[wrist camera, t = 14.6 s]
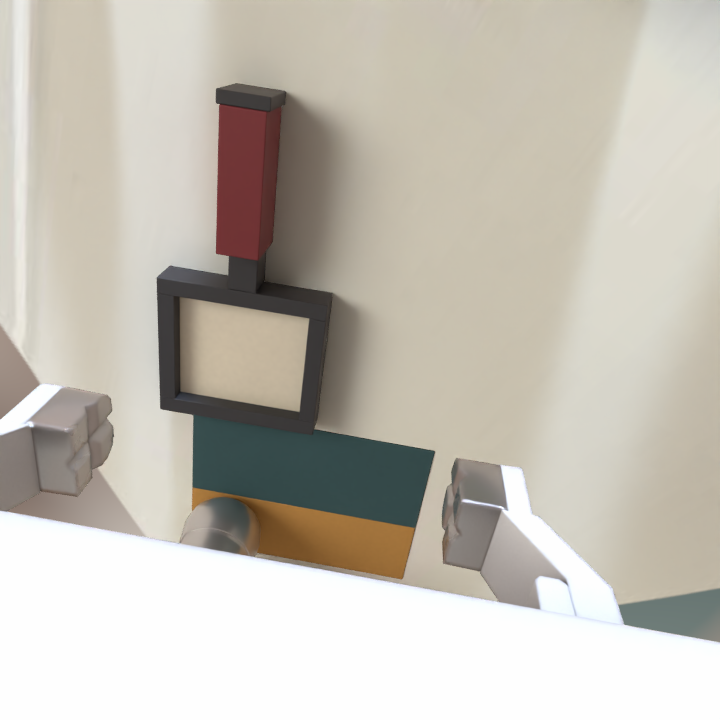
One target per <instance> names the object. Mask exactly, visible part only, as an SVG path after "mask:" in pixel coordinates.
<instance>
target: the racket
mask: <svg viewBox="0 0 720 720" xmlns="http://www.w3.org/2000/svg"><path fill="white" fill-rule="evenodd" d="M285 98H286V92H285V91H281V90H275V89H269V88H262V87H256V86H250V85H244V84H237V83H236V84H232V85H228V86H225V87H221V88H217V89H216V103H217V104H220V105H219V139H218V185H217V231H216V254H220V255H226V256H229V274H228V276H227V275H221V274H215V273H209V272H203V271H197V270H191V269H185V268H179V267H173V266H169V267H168V268H167V269H166V270H165V271H163V272H162V273H161V274H160V275H159V276H158V277H157V303H158V338H159V374H160V409H163V410H169V411H175V412H180V413H186V414H192V415H198V416H204V417H209V418H215V419H221V420H227V421H232V422H238V423H244V424H250V425H256V426H261V427H267V428H273V429H279V430H285V431H290V432H296V433H302V434H308V435H313V431H314V428H315V425H316V421H317V417H318V409H319V401H320V393H321V385H322V376H323V368H324V360H325V352H326V344H327V336H328V328H329V319H330V311H331V303H332V295H333V293H329V292H323V291H317V290H311V289H305V288H299V287H293V286H287V285H281V284H275V283H269V282H264V278H265V262H266V250H267V248H268V247H269V246H270V244H271V243H272V242H273V227H274V212H275V198H276V183H277V168H278V153H279V139H280V124H281V109H282V106H283V105H285Z"/></svg>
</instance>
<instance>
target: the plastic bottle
mask: <svg viewBox="0 0 720 720" xmlns="http://www.w3.org/2000/svg"><path fill="white" fill-rule="evenodd" d="M260 534H261V527H260V523H259V521H258V519H257V517H256V515H255V514H254V512H253V511H252V510H251V509H250V508H249V507H248V506H247V505H245V504H244V503H242V502H240V501H238V500H236V499H233V498H228V497H215V498H212V499H209V500H206V501H204V502H202V503H200V504H199V505H198V506H196V507H195V509H194V510H193V511H192V513H191V514H190V515H189V516H188V518H187V519H186V521H185V525H184V528H183V531H182V535H181V539H180V544H186V545H191V546H197V547H202V548H207V549H213V550H218V551H224V552H229V553H235V554H240V555H246V556H251V557H255V555H256V553H257V551H258V548H259V544H260Z"/></svg>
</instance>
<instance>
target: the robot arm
mask: <svg viewBox="0 0 720 720" xmlns="http://www.w3.org/2000/svg"><path fill="white" fill-rule="evenodd" d="M111 412H112V404H111V398H110V397H109V396H108V395H105V394H100V393H95V392H90V391H85V390H80V389H75V388H70V387H64V386H59V385H54V384H48V383H45V384H40V385H39V386H38V387H37V388H36V389H35V390H33V391H32V392H31V393H30V394H29V395H28V396H27V397H26V398H25V399H23V400H22V401H21V402H20V403H19V404H18V405H17V406H16V407H14V408H13V409H12V410H11V411H10V412H9V413H8V414H7V415H5V416H4V417H3V418H2V419H0V720H720V642H715V641H710V640H704V639H698V638H693V637H687V636H682V635H676V634H670V633H665V632H660V631H654V630H649V629H643V628H638V627H633V626H627V625H624V622H623V620H622V616H621V613H620V610H619V607H618V604H617V601H616V598H615V595H614V592H613V589H612V587H611V586H610V585H609V584H608V583H607V582H606V581H605V580H604V579H603V578H602V577H601V576H600V575H599V574H597V573H596V572H595V571H594V570H593V569H592V568H591V567H590V566H589V565H588V564H587V563H586V562H585V561H584V560H583V559H582V558H581V557H580V556H579V555H578V554H577V553H576V552H575V551H574V550H573V549H572V548H571V547H570V546H569V545H568V544H567V543H566V542H565V541H564V540H563V539H562V538H561V537H560V536H558V535H557V534H556V533H555V532H554V531H553V530H552V529H551V528H550V527H549V526H548V525H547V524H546V523H545V522H544V521H543V520H542V519H541V518H540V517H539V516H534V515H533V514H532V509H531V505H530V500H529V496H528V491H527V487H526V482H525V478H524V473H523V470H522V469H521V468H519V467H513V466H506V465H495V464H489V463H484V462H478V461H472V460H466V459H460V458H456V460H455V462H454V465H453V468H452V471H451V473H452V484H450V485H449V486H448V487H447V490H446V494H445V498H444V504H443V510H442V527H443V529H444V530H445V534H444V537H443V541H442V545H443V564H448V565H452V566H457V567H462V568H467V569H471V570H476V571H481V572H480V574H481V575H482V577H483V578H484V580H485V581H486V583H487V584H488V586H489V587H490V589H491V590H492V592H493V593H494V595H495V596H496V598H497V599H498V601H499V602H496V601H491V600H485V599H480V598H475V597H469V596H464V595H458V594H453V593H448V592H442V591H437V590H431V589H426V588H420V587H415V586H409V585H404V584H398V583H393V582H388V581H382V580H377V579H371V578H366V577H360V576H355V575H349V574H344V573H338V572H333V571H327V570H322V569H317V568H311V567H306V566H300V565H295V564H289V563H284V562H278V561H273V560H267V559H262V558H256V557H251V556H246V555H240V554H235V553H229V552H224V551H218V550H213V549H207V548H202V547H197V546H191V545H186V544H180V543H175V542H169V541H164V540H158V539H153V538H148V537H142V536H137V535H131V534H126V533H120V532H115V531H109V530H103V529H98V528H93V527H88V526H82V525H77V524H71V523H65V522H60V521H55V520H49V519H44V518H38V517H33V516H28V515H22V514H16V513H11V512H7V511H9V510H10V509H12V508H14V507H16V506H18V505H19V504H21V503H23V502H25V501H27V500H28V499H30V498H32V497H34V496H35V495H37V494H39V493H40V491H43V492H50V493H56V494H62V495H69V496H75V497H78V496H79V495H80V493H81V492H82V491H83V489H84V488H85V487H86V485H87V484H88V483H89V482H90V480H91V479H92V469H95V468H97V467H99V466H101V465H102V464H103V463H104V462H105V460H106V459H107V457H108V455H109V453H110V450H111V448H112V444H113V437H114V433H113V426H112V424H111V423H110V422H109V421H108V419H107V417H108V415H109V414H110V413H111Z"/></svg>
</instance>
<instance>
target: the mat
mask: <svg viewBox="0 0 720 720" xmlns="http://www.w3.org/2000/svg"><path fill="white" fill-rule="evenodd" d="M434 453H435V451H431V450H426V449H420V448H415V447H409V446H404V445H398V444H392V443H387V442H381V441H376V440H370V439H365V438H359V437H353V436H348V435H342V434H337V433H331V432H326V431H320V430H314V431H313V435H308V434H302V433H296V432H290V431H285V430H279V429H273V428H267V427H261V426H256V425H250V424H244V423H238V422H232V421H227V420H221V419H215V418H209V417H204V416H198V415H194V421H193V493H192V511H193V510H194V509H195V507H196V506H198V505H199V504H200V503H202V502H204V501H206V500H209V499H212V498H215V497H228V498H233V499H236V500H238V501H240V502H242V503H244V504H245V505H247V506H248V507H249V508H250V509H251V510H252V511H253V512H254V514H255V515H256V517H257V519H258V521H259V523H260V527H261V534H260V544H259V548H258V551H257V553H263V554H268V555H273V556H279V557H284V558H290V559H295V560H301V561H306V562H311V563H317V564H322V565H328V566H333V567H339V568H344V569H349V570H355V571H360V572H366V573H371V574H377V575H382V576H387V577H393V578H398V579H402V578H403V574H404V570H405V566H406V562H407V558H408V554H409V550H410V547H411V543H412V539H413V535H414V531H415V527H416V523H417V519H418V515H419V511H420V507H421V503H422V500H423V496H424V492H425V488H426V484H427V480H428V476H429V472H430V468H431V464H432V460H433V457H434Z"/></svg>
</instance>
